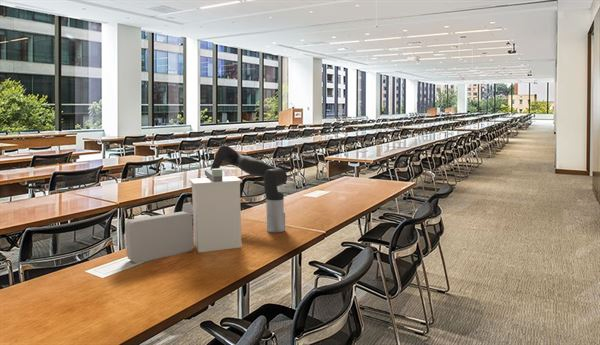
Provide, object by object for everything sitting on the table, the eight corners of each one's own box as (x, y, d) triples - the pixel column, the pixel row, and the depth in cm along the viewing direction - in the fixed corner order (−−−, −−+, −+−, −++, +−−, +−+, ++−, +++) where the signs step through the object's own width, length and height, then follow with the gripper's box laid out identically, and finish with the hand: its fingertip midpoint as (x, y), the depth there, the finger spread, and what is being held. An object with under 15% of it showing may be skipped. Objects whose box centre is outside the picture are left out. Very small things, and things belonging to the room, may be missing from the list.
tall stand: (236, 239, 226) (235, 176, 221) (243, 247, 213) (242, 180, 208) (192, 244, 218) (189, 179, 213) (196, 253, 205) (193, 183, 200)
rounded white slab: (186, 246, 214) (184, 209, 212) (193, 250, 209) (192, 212, 206) (125, 259, 197) (122, 219, 194) (131, 264, 191) (128, 222, 188)
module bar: (212, 174, 227) (212, 163, 227) (222, 181, 205) (222, 169, 205) (204, 174, 226) (204, 163, 225) (213, 181, 204) (213, 169, 203)
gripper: (189, 186, 246) (192, 174, 232) (215, 184, 251) (219, 173, 237) (190, 199, 243) (193, 188, 229) (217, 196, 249) (221, 186, 234)
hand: (207, 180), depth 233 cm, fingers open, 8 cm apart
